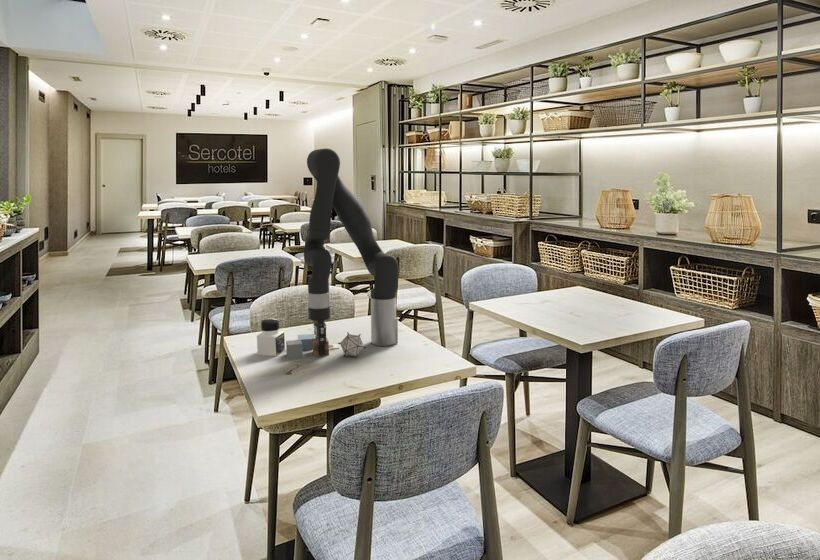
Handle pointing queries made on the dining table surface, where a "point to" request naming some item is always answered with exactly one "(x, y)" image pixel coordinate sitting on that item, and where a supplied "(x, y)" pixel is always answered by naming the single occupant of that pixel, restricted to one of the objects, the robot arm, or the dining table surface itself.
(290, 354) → the gray block
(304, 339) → the base block
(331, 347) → the card
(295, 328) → the dining table surface
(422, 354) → the dining table surface
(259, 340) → the medicine bottle
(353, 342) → the grey icosahedron
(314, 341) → the walnut block
